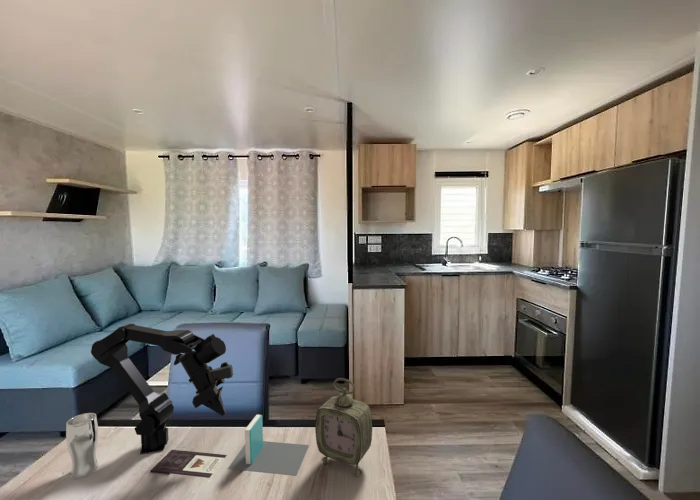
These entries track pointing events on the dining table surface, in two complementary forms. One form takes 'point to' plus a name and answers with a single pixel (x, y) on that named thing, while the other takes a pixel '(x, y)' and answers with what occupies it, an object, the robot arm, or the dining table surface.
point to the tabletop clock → (344, 428)
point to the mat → (273, 458)
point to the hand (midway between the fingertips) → (224, 414)
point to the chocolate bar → (188, 463)
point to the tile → (253, 439)
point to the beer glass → (82, 444)
